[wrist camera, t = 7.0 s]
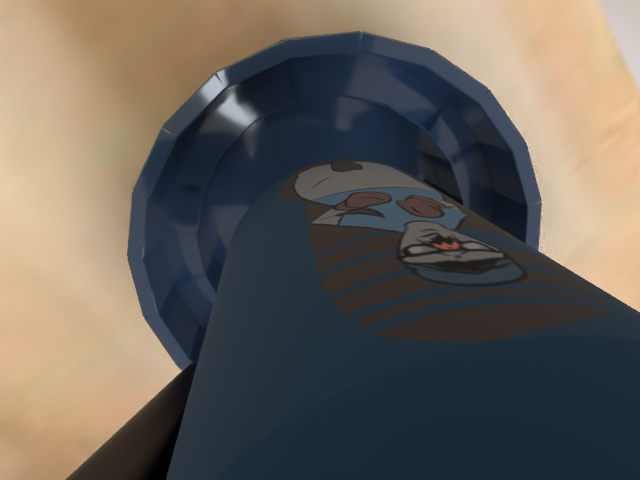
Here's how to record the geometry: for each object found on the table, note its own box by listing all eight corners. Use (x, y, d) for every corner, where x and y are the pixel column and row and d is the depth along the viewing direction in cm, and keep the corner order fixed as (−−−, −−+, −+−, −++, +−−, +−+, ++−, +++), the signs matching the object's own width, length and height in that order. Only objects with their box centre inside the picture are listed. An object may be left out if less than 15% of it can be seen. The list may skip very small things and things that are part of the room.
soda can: (312, 389, 15) (424, 1215, 4) (181, 239, 13) (-366, 1143, 2) (480, 281, 15) (1177, 913, 3) (373, 103, 12) (1361, 221, 1)
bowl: (152, 329, 19) (114, 406, 15) (185, 10, 15) (148, -23, 11) (425, 363, 22) (468, 440, 17) (515, 90, 18) (604, 92, 13)
